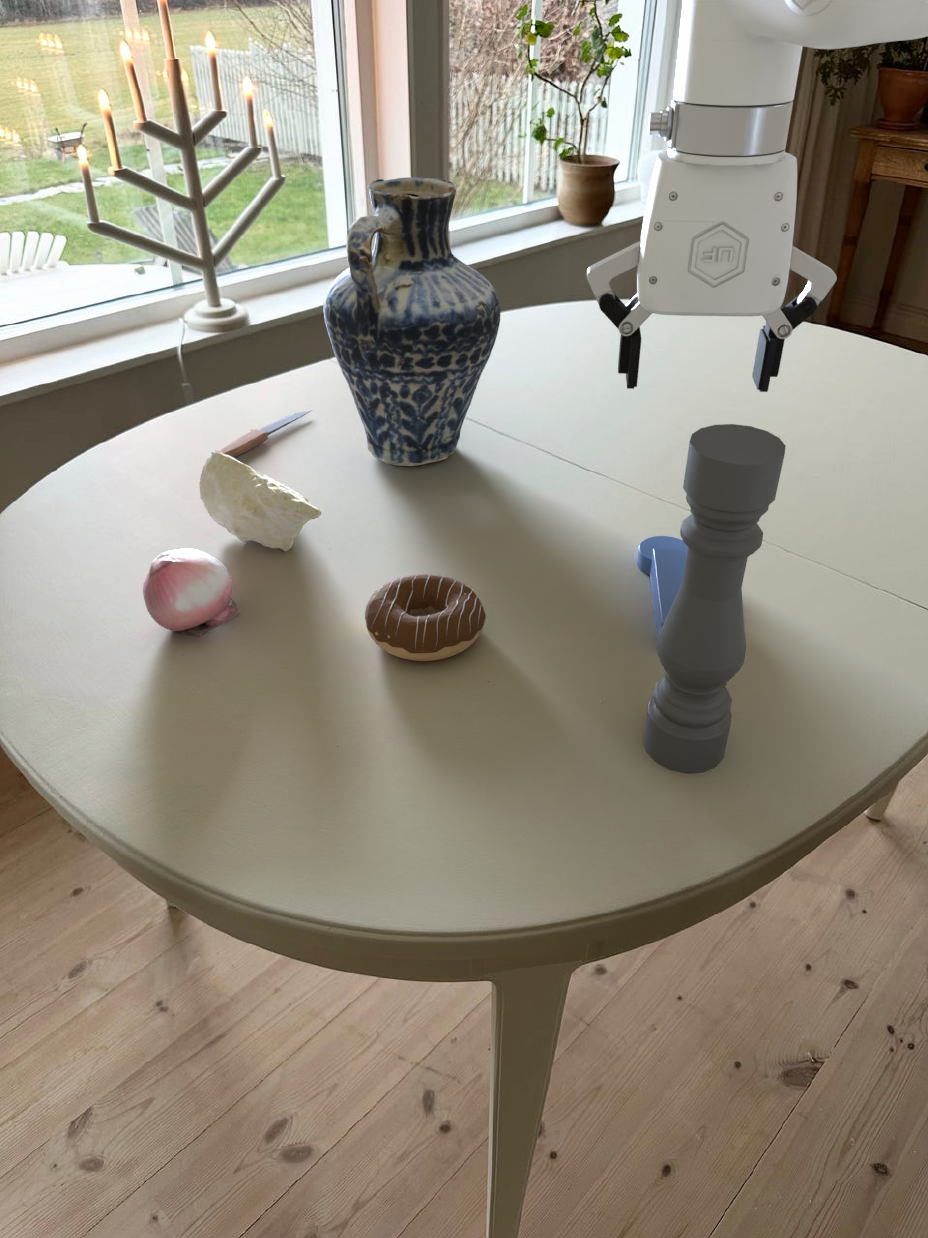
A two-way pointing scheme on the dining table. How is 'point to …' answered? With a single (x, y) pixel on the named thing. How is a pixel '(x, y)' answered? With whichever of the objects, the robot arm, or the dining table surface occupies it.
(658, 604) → the spoon
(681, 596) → the candle holder
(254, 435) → the knife
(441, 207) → the jug
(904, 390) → the dining table surface
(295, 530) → the cheese
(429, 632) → the donut
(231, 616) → the onion
